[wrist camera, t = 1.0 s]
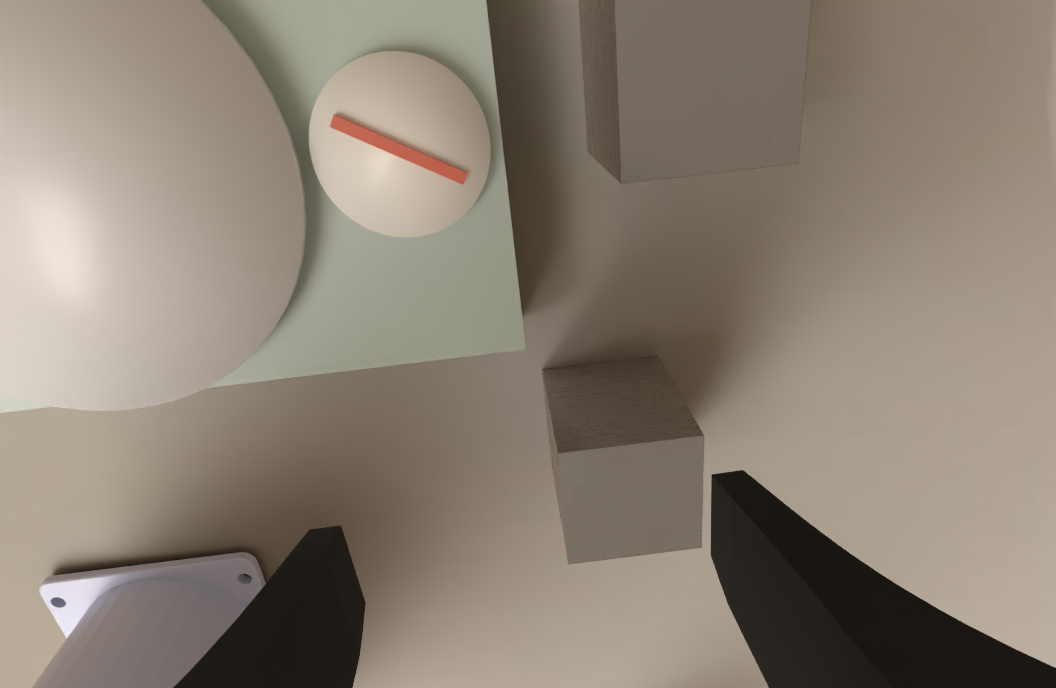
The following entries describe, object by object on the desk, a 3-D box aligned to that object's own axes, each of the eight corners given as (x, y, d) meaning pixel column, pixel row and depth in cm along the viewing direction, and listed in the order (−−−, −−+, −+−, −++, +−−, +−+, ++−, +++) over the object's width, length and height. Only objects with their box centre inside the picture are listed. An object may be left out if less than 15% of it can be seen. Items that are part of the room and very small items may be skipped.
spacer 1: (721, 136, 19) (798, 163, 14) (587, 151, 18) (621, 183, 14) (726, -19, 17) (815, -45, 12) (578, -2, 17) (613, -23, 12)
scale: (521, 318, 20) (527, 361, 18) (-2, 380, 20) (-83, 435, 17) (470, -130, 15) (466, -173, 12) (-232, -55, 15) (-401, -81, 12)
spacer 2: (658, 451, 23) (701, 547, 19) (551, 464, 23) (568, 564, 19) (657, 354, 21) (704, 435, 17) (542, 368, 21) (557, 453, 17)
